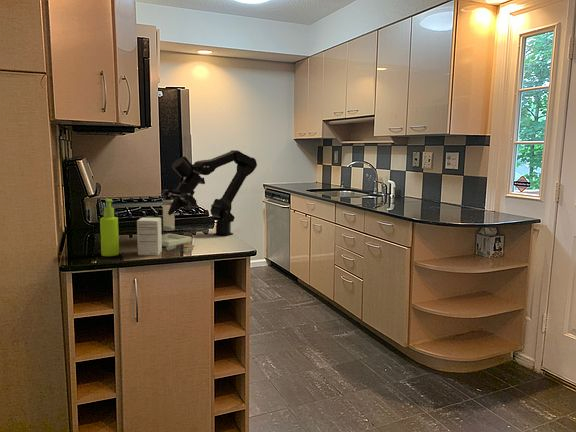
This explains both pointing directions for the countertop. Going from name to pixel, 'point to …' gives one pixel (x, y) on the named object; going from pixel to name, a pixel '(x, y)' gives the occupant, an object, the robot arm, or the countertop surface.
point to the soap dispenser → (109, 231)
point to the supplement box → (149, 236)
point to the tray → (174, 239)
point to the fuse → (168, 216)
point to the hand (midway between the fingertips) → (165, 213)
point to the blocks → (189, 248)
